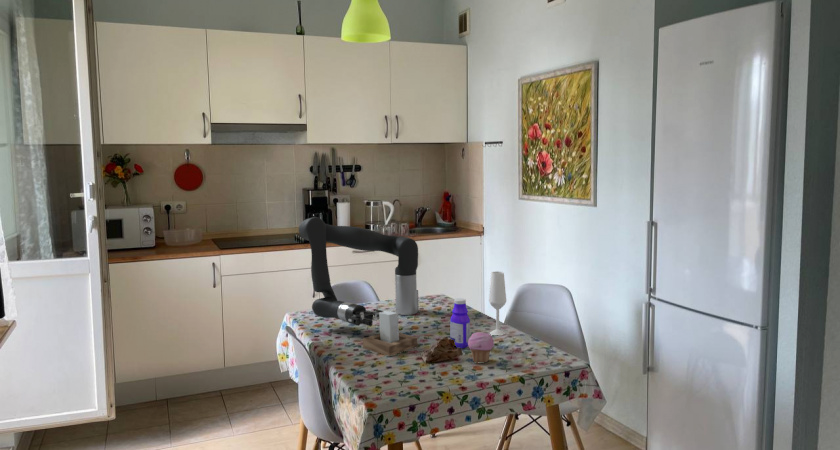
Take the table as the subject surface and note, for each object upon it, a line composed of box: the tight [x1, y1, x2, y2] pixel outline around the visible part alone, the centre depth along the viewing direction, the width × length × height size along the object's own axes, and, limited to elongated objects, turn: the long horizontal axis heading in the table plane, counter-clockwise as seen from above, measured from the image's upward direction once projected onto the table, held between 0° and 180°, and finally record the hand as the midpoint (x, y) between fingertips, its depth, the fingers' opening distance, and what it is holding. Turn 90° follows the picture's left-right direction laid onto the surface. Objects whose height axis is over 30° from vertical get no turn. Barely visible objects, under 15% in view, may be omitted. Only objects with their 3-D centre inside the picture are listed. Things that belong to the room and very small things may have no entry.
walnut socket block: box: [362, 332, 418, 357], centre depth 232 cm, size 14×14×4 cm
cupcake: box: [468, 331, 495, 364], centre depth 215 cm, size 9×9×10 cm
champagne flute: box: [488, 270, 507, 336], centre depth 245 cm, size 7×7×24 cm
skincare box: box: [378, 310, 400, 343], centre depth 231 cm, size 6×4×12 cm
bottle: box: [449, 297, 471, 349], centre depth 231 cm, size 7×6×17 cm
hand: (380, 320), depth 235 cm, fingers open, 8 cm apart
